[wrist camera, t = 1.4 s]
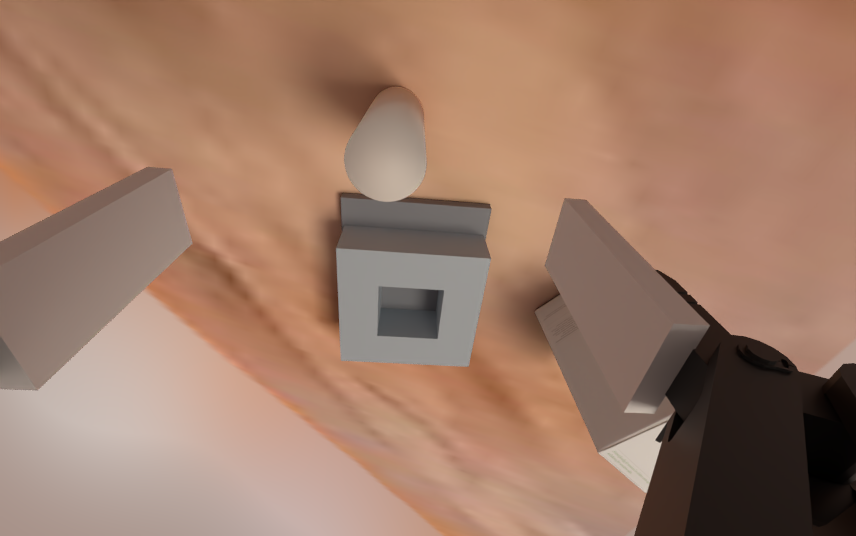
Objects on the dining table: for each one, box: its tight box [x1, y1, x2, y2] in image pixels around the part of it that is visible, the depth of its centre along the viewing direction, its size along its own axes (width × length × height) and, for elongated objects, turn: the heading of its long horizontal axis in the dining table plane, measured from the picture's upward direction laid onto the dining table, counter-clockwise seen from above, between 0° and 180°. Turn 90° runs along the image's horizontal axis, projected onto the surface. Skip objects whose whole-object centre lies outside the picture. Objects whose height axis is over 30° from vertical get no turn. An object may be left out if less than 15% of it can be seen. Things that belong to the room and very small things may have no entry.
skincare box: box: [535, 295, 675, 493], centre depth 33 cm, size 8×7×16 cm
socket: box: [336, 193, 491, 367], centre depth 35 cm, size 17×12×5 cm
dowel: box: [344, 87, 427, 202], centre depth 24 cm, size 4×4×12 cm
